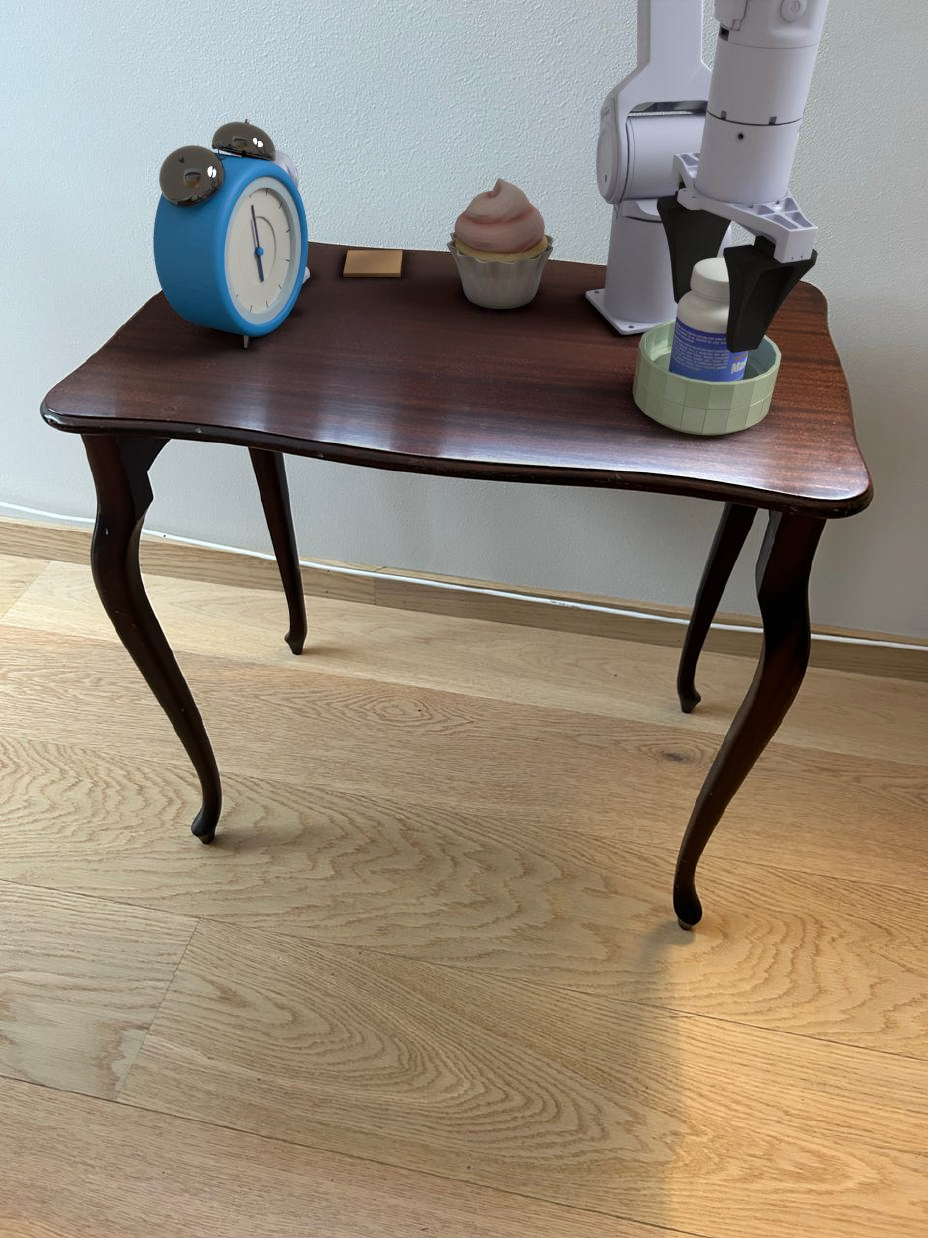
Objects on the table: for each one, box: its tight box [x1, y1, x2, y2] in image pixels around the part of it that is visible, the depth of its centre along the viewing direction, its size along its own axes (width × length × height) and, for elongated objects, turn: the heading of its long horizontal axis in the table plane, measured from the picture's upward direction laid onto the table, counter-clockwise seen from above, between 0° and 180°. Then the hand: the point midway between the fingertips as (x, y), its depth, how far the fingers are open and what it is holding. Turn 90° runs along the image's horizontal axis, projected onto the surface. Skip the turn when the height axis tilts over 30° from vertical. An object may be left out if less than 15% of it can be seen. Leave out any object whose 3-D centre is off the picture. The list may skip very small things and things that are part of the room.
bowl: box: [632, 320, 782, 436], centre depth 70 cm, size 10×10×4 cm
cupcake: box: [446, 177, 555, 310], centre depth 82 cm, size 9×9×10 cm
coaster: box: [342, 249, 403, 278], centre depth 90 cm, size 5×5×1 cm
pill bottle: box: [668, 258, 748, 382], centre depth 68 cm, size 5×5×10 cm
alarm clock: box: [152, 118, 309, 349], centre depth 75 cm, size 13×6×15 cm, turn 156°
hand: (714, 324), depth 67 cm, fingers open, 7 cm apart
